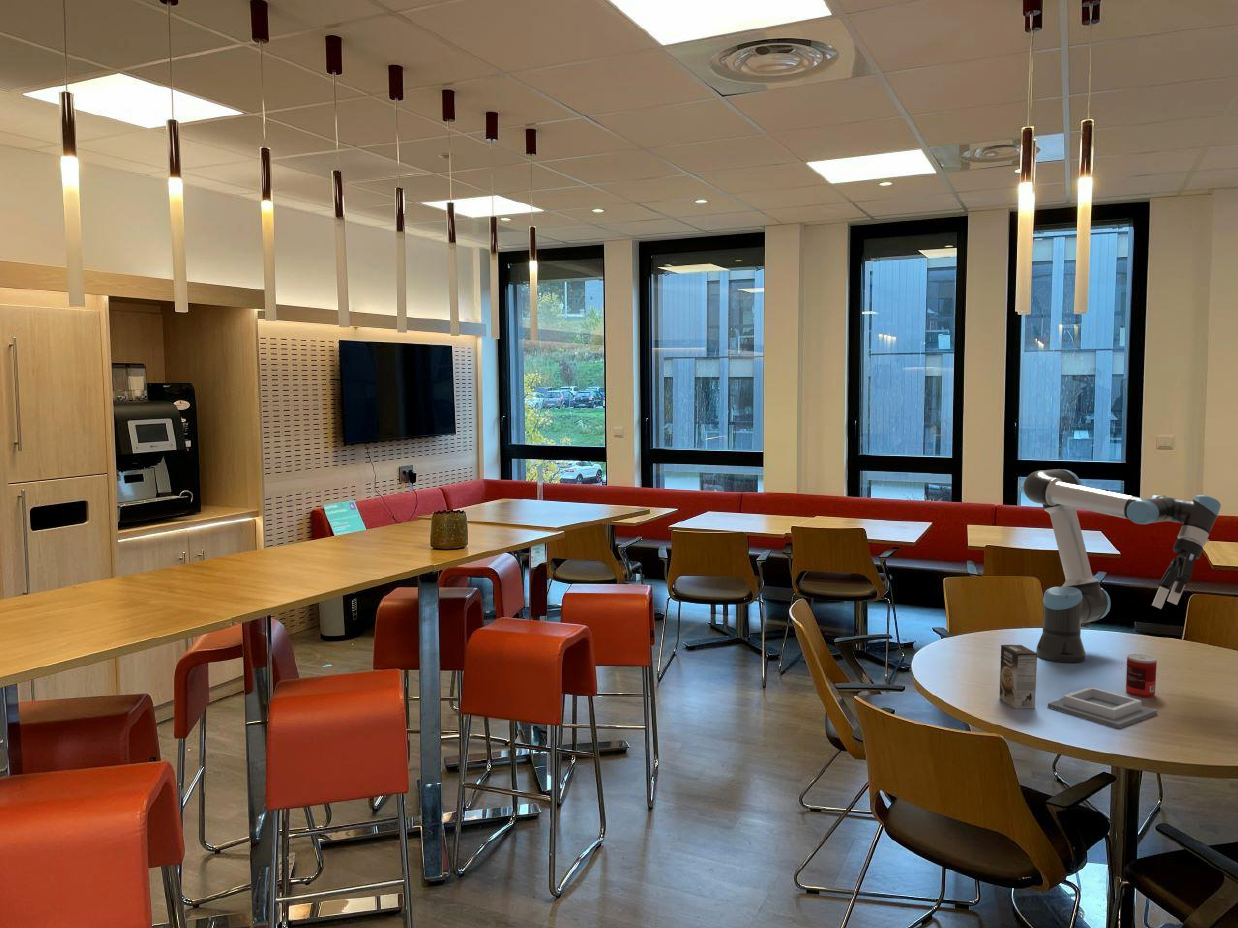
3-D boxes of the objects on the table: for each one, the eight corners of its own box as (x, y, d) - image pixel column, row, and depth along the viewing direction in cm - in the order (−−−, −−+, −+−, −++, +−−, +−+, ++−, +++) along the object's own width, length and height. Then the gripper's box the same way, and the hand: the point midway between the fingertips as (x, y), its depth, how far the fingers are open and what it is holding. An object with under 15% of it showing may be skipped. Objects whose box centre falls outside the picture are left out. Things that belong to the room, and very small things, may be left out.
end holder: (1047, 707, 257) (1048, 694, 257) (1086, 694, 268) (1086, 682, 268) (1118, 728, 241) (1119, 715, 240) (1156, 714, 252) (1157, 701, 251)
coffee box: (998, 698, 265) (1000, 644, 264) (1019, 697, 266) (1021, 643, 265) (1014, 708, 256) (1016, 652, 255) (1036, 708, 257) (1038, 652, 256)
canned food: (1151, 690, 272) (1153, 655, 272) (1158, 699, 265) (1159, 662, 264) (1123, 688, 275) (1124, 652, 274) (1128, 696, 267) (1130, 659, 267)
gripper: (1219, 541, 267) (1192, 606, 264) (1188, 554, 290) (1162, 613, 288) (1192, 531, 269) (1165, 595, 267) (1163, 544, 293) (1138, 603, 290)
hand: (1164, 604), depth 277 cm, fingers open, 13 cm apart
